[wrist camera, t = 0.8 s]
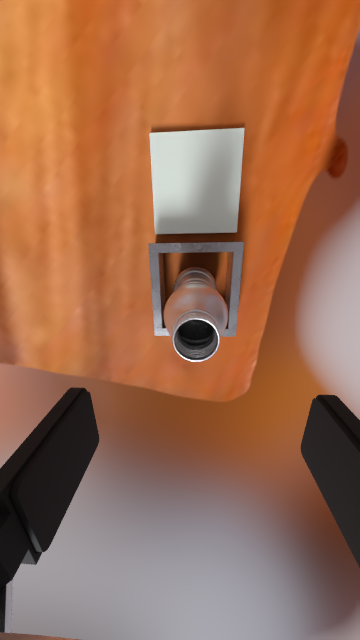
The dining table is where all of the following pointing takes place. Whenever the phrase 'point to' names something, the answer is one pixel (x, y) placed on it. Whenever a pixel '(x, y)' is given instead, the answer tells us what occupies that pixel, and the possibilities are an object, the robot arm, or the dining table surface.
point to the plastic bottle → (195, 315)
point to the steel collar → (159, 248)
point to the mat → (196, 180)
